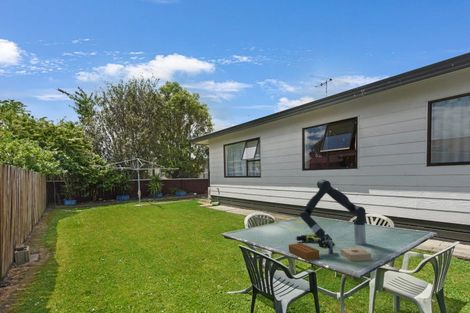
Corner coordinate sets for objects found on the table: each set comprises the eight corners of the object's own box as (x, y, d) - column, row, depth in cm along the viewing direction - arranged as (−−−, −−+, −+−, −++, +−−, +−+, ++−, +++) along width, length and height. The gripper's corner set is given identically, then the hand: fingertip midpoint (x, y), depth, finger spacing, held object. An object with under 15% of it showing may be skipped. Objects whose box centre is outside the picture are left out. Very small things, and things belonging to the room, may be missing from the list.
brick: (288, 251, 231) (288, 244, 231) (300, 249, 235) (300, 242, 236) (306, 260, 208) (306, 252, 208) (319, 258, 212) (319, 250, 212)
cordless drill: (306, 248, 237) (293, 241, 261) (331, 246, 242) (317, 240, 266) (305, 240, 237) (293, 234, 261) (331, 238, 243) (317, 232, 267)
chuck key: (327, 252, 224) (327, 240, 225) (332, 252, 224) (331, 239, 225) (329, 253, 221) (328, 241, 221) (333, 253, 221) (333, 241, 221)
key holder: (340, 254, 218) (340, 248, 218) (360, 253, 219) (360, 247, 219) (350, 261, 202) (349, 254, 202) (371, 260, 203) (371, 253, 203)
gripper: (316, 229, 223) (331, 246, 215) (324, 226, 234) (338, 242, 226) (311, 235, 227) (325, 251, 218) (318, 231, 237) (332, 247, 229)
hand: (332, 246), depth 222 cm, fingers open, 8 cm apart
